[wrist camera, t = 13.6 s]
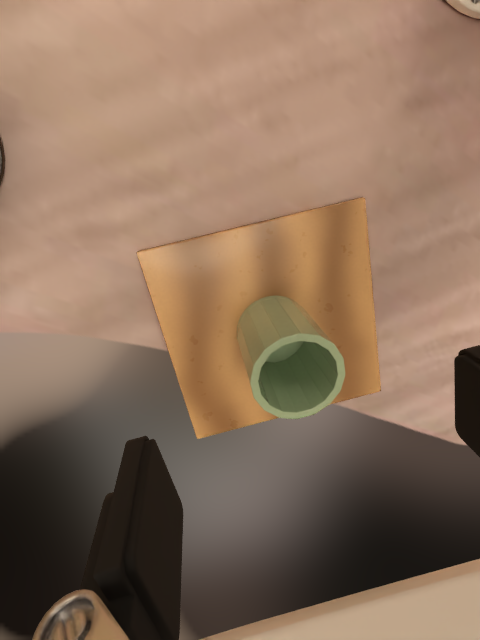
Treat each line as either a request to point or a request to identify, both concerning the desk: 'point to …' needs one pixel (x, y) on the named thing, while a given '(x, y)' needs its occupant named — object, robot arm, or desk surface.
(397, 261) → the desk surface
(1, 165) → the french press
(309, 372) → the pot
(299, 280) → the mat
